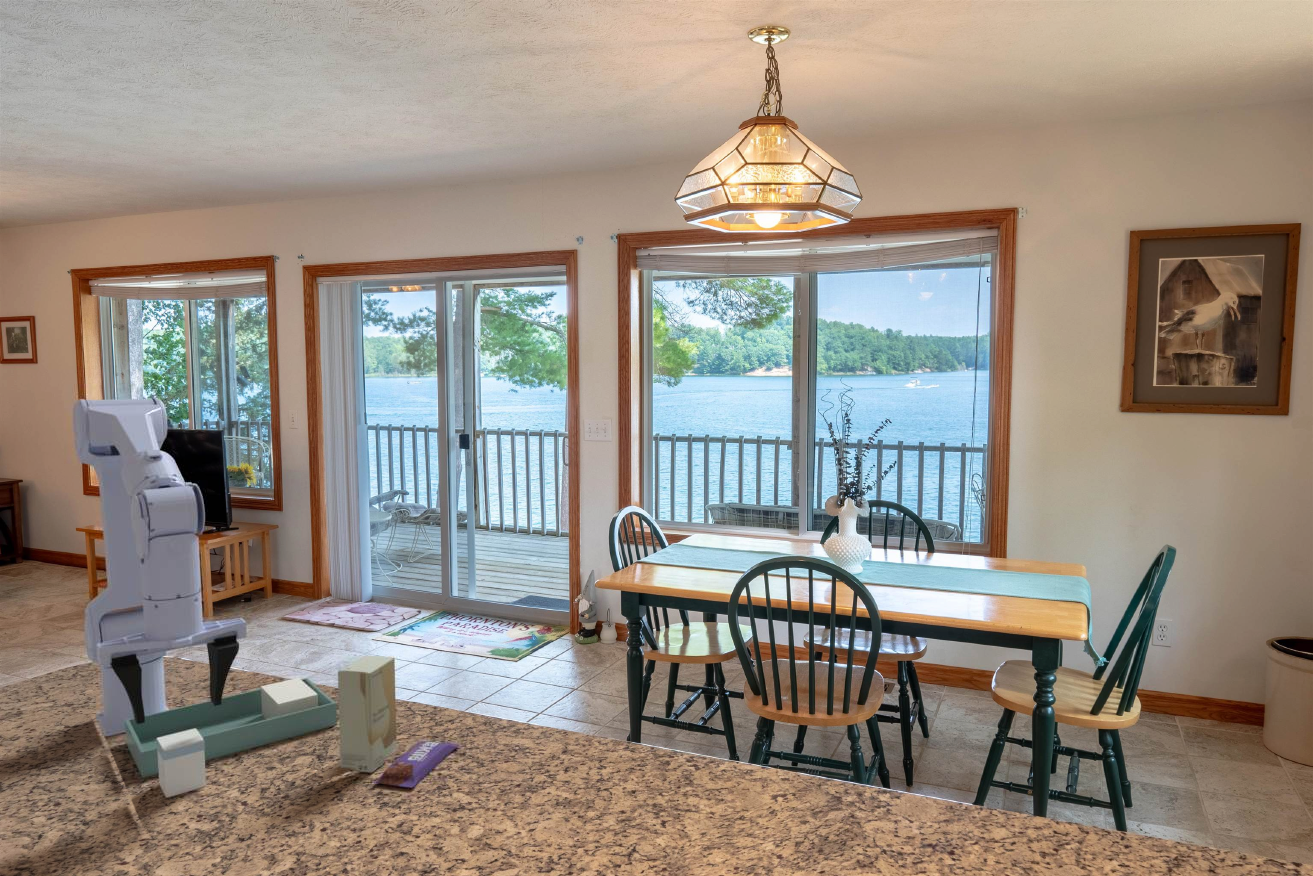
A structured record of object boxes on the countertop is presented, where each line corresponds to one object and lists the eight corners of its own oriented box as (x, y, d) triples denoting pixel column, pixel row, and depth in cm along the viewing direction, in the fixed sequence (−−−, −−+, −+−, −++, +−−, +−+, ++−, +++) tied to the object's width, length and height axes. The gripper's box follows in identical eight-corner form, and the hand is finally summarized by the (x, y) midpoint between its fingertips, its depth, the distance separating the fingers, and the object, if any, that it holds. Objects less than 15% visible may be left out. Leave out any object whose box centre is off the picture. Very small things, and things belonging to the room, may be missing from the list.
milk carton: (159, 788, 97) (156, 737, 96) (198, 777, 99) (196, 728, 99) (166, 802, 94) (163, 750, 93) (207, 790, 96) (204, 739, 96)
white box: (262, 714, 116) (260, 686, 116) (299, 705, 119) (298, 677, 119) (279, 733, 110) (278, 704, 109) (318, 723, 113) (317, 694, 113)
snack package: (424, 732, 108) (460, 737, 107) (425, 747, 108) (460, 752, 107) (372, 774, 97) (412, 779, 96) (373, 790, 97) (412, 796, 96)
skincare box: (372, 774, 100) (368, 674, 99) (338, 771, 101) (335, 671, 100) (399, 750, 106) (396, 655, 105) (367, 747, 107) (364, 653, 106)
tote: (126, 746, 107) (124, 720, 107) (307, 701, 122) (307, 677, 121) (142, 781, 98) (141, 752, 98) (337, 728, 113) (336, 702, 112)
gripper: (100, 613, 87) (108, 741, 88) (251, 589, 96) (257, 705, 97) (91, 599, 92) (99, 720, 93) (235, 578, 102) (240, 688, 103)
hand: (178, 711), depth 96 cm, fingers open, 7 cm apart
